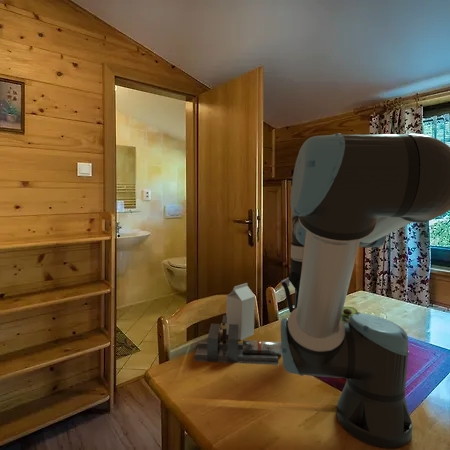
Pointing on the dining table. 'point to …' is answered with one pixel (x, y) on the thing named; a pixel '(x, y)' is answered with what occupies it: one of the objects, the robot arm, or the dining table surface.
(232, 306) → the milk carton
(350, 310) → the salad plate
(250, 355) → the collar rail
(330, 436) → the dining table surface
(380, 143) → the robot arm
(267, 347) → the tube
